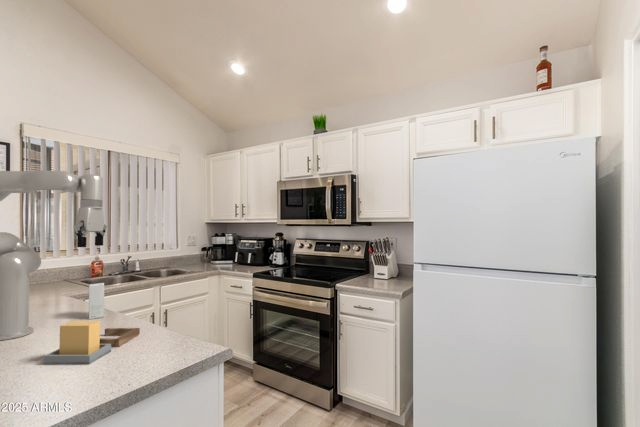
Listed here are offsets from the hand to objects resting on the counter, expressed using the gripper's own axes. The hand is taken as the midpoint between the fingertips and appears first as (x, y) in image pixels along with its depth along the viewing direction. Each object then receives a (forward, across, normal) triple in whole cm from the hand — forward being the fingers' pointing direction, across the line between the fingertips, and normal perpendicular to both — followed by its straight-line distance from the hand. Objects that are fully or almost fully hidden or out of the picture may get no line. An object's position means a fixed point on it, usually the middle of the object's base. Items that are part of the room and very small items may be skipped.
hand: (90, 246), depth 131 cm
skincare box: (+34, -17, -9) cm, 39 cm away
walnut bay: (+33, +14, +18) cm, 40 cm away
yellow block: (+33, +29, +18) cm, 47 cm away
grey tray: (+33, +29, +18) cm, 48 cm away
